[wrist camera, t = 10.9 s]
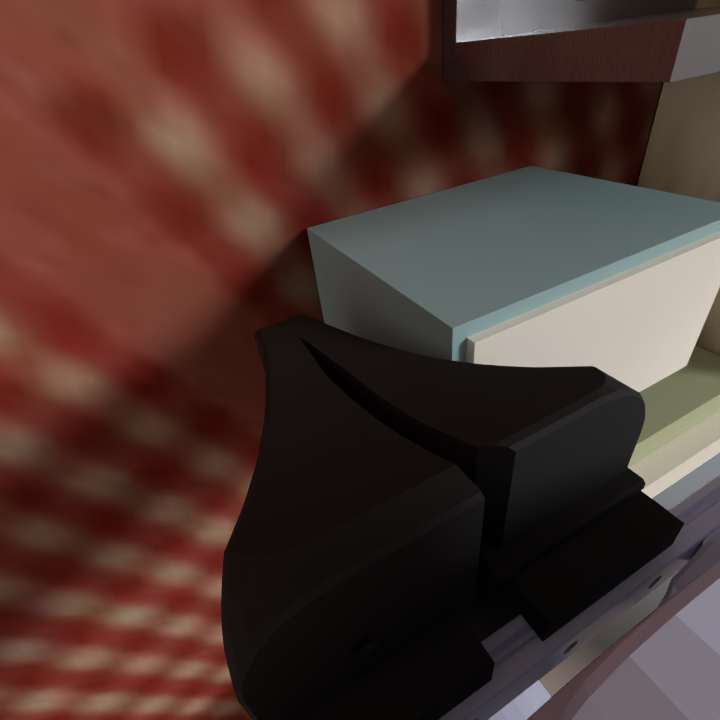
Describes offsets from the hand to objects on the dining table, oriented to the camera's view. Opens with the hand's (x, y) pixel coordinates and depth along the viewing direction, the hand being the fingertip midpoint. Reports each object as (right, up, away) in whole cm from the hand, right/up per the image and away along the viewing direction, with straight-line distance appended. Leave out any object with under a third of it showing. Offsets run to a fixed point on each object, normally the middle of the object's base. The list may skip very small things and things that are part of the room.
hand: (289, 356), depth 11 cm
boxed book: (+4, +3, +4) cm, 6 cm away
